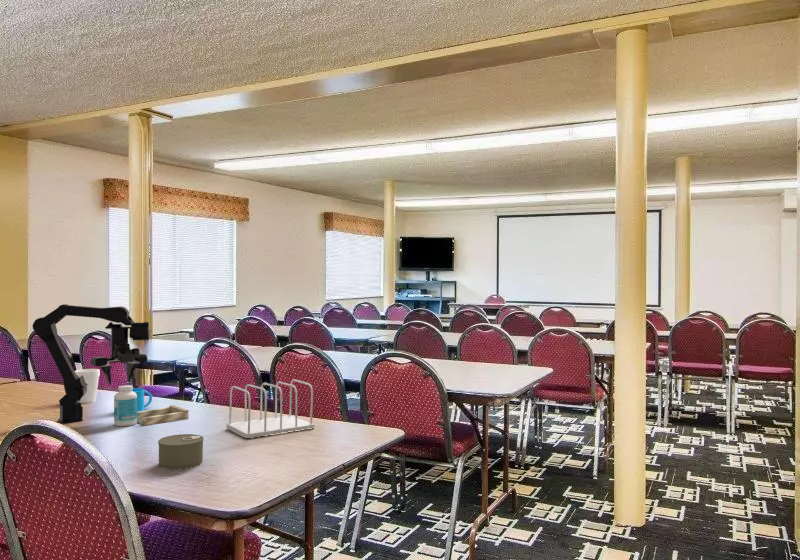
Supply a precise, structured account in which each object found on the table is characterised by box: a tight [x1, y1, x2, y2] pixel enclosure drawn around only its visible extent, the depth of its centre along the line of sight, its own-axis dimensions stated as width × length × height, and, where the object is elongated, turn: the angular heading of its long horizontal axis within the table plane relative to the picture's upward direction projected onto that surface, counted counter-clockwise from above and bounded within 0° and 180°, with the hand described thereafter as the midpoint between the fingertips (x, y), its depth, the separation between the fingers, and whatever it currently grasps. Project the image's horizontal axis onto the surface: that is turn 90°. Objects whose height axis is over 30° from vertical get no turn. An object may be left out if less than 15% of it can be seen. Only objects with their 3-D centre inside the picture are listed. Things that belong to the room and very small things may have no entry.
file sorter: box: [226, 378, 316, 439], centre depth 217 cm, size 25×17×16 cm
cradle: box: [136, 405, 190, 426], centre depth 231 cm, size 16×12×3 cm
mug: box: [132, 387, 153, 412], centre depth 246 cm, size 12×8×8 cm
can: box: [157, 433, 204, 470], centre depth 176 cm, size 12×12×7 cm
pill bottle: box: [113, 384, 138, 427], centre depth 222 cm, size 8×7×14 cm
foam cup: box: [74, 368, 101, 404], centre depth 262 cm, size 10×9×13 cm
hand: (119, 383), depth 231 cm, fingers open, 7 cm apart
